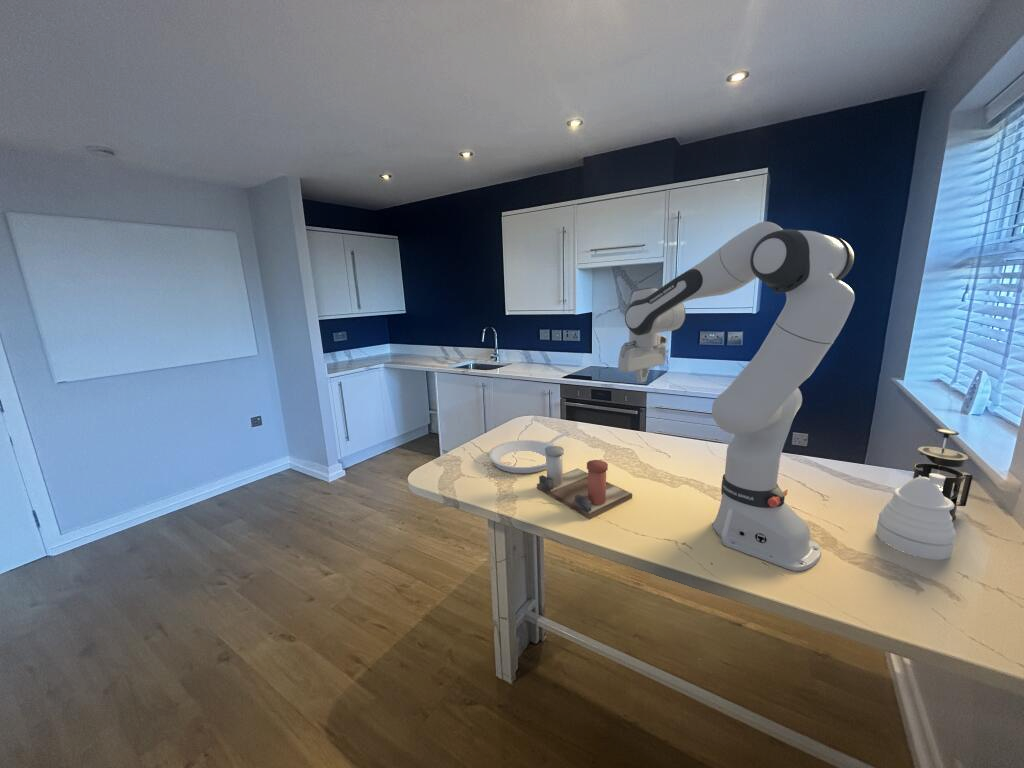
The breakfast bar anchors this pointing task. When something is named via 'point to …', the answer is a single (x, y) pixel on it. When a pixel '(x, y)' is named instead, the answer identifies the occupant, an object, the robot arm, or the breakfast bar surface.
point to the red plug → (597, 481)
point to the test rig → (582, 493)
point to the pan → (521, 446)
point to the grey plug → (554, 464)
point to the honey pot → (919, 519)
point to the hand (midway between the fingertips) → (641, 381)
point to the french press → (942, 460)
